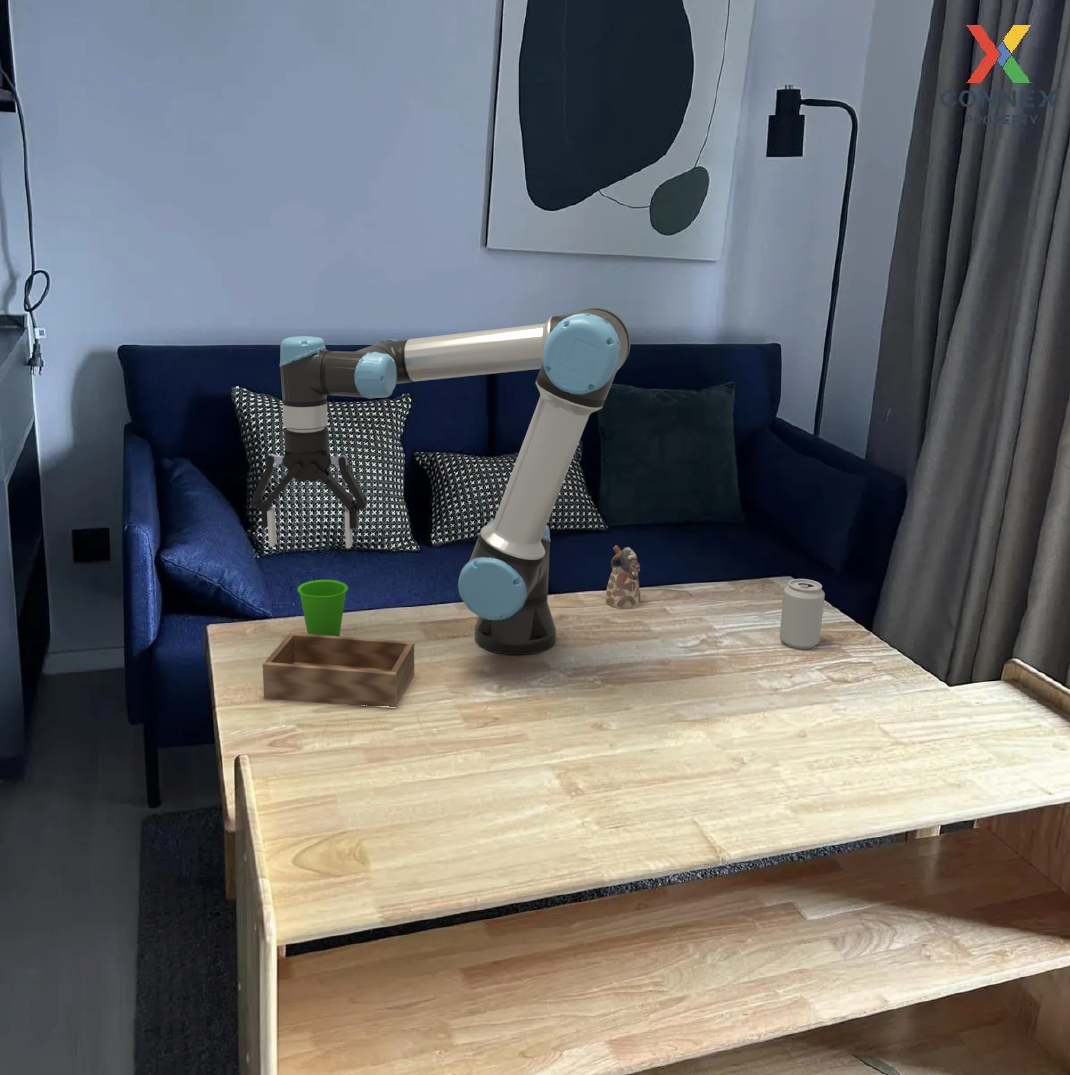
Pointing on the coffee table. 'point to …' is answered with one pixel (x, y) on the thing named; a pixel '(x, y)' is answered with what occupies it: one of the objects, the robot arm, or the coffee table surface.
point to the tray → (339, 670)
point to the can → (802, 613)
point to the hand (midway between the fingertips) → (311, 545)
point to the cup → (323, 606)
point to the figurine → (624, 580)
